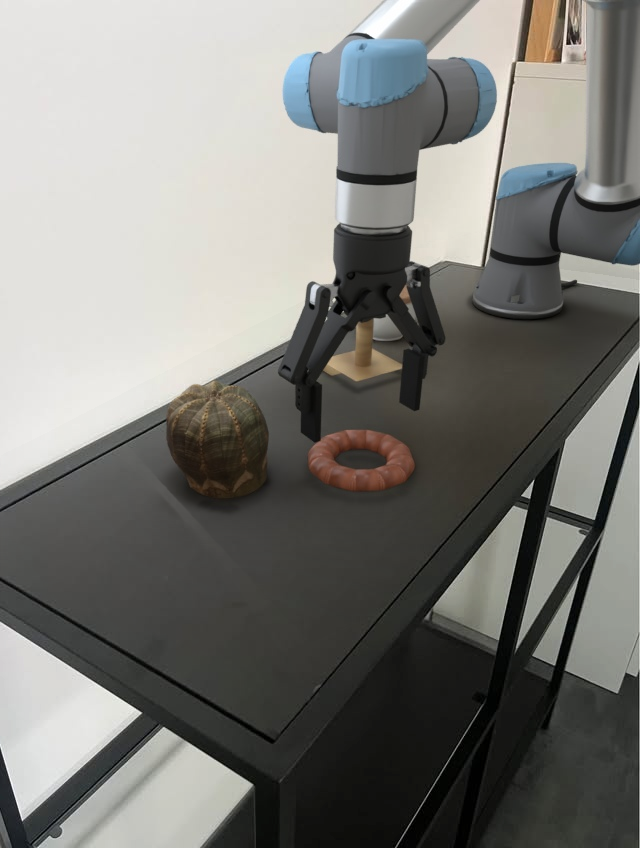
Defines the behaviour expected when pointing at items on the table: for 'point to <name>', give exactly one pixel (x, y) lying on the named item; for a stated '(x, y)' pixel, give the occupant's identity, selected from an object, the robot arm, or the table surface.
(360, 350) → the stand
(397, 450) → the ring
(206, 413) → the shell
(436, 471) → the table surface
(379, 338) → the trinket box
